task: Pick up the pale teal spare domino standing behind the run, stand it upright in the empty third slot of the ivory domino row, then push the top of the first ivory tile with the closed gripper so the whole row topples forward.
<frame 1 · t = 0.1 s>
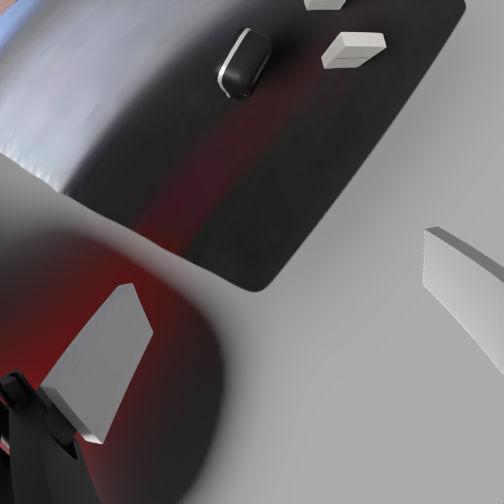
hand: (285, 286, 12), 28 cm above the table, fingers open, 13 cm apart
domino 2: (322, 4, 27), on the table
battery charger: (247, 80, 33), on the table
end domino: (339, 61, 31), on the table
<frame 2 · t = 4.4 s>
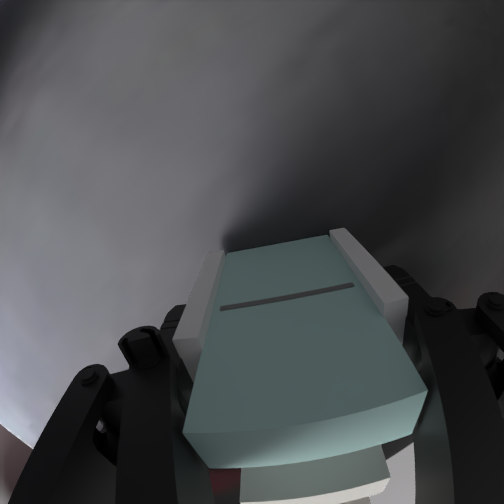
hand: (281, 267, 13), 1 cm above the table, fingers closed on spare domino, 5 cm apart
domino 1: (293, 338, 16), on the table
spare domino: (280, 260, 14), on the table, touching gripper
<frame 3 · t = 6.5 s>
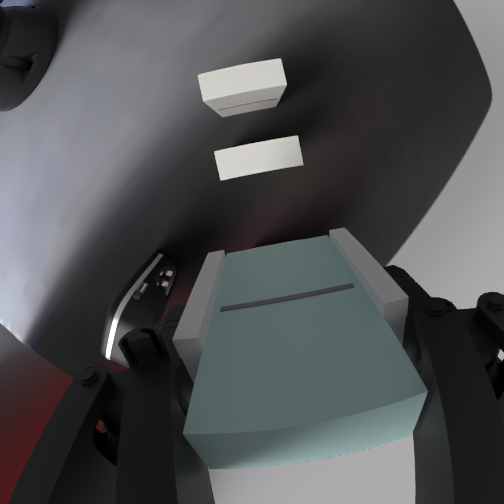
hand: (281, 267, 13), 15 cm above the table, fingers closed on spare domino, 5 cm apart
domino 2: (258, 153, 25), on the table
domino 1: (247, 102, 24), on the table
spare domino: (280, 261, 14), point 14 cm above the table, touching gripper
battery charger: (162, 281, 31), on the table
when the fingers open (1 cm above the table, at t = 9.2 s): spare domino stays where it is, on the table.
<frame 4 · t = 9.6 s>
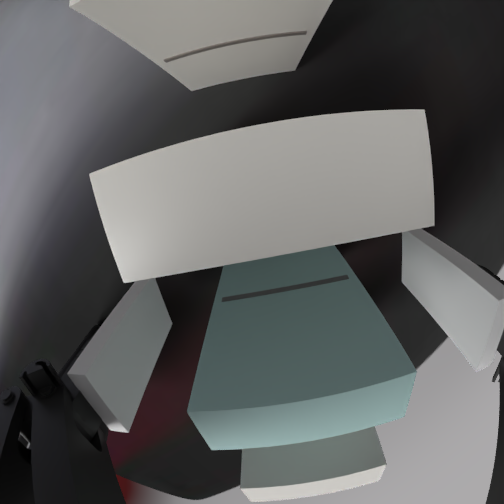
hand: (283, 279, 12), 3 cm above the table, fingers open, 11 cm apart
domino 2: (260, 159, 13), on the table
domino 1: (239, 62, 11), on the table
spare domino: (279, 256, 15), on the table
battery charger: (114, 360, 18), on the table
end domino: (292, 332, 17), on the table
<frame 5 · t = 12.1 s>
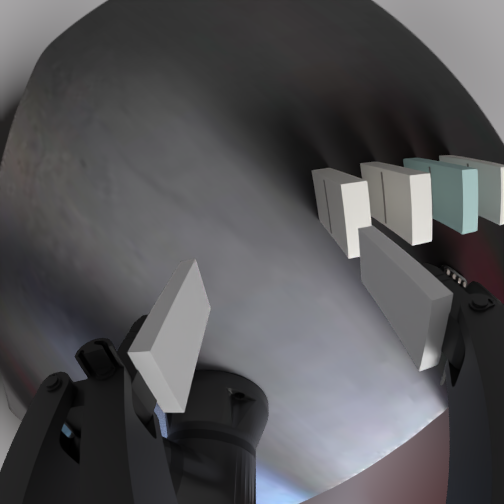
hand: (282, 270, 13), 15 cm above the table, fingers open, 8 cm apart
domino 2: (371, 186, 26), on the table
domino 1: (324, 194, 27), on the table
spare domino: (412, 181, 26), on the table
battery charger: (448, 277, 30), on the table
end domino: (446, 177, 25), on the table
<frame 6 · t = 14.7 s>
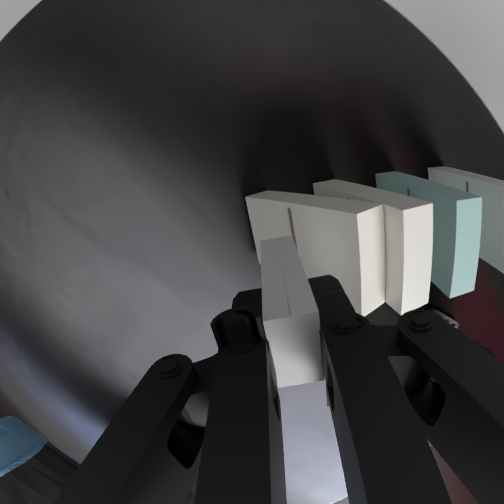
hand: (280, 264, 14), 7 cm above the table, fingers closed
domino 2: (328, 214, 20), on the table, tilted 11°
domino 1: (263, 227, 20), on the table, tilted 29°
spare domino: (388, 204, 20), on the table
end domino: (437, 196, 20), on the table
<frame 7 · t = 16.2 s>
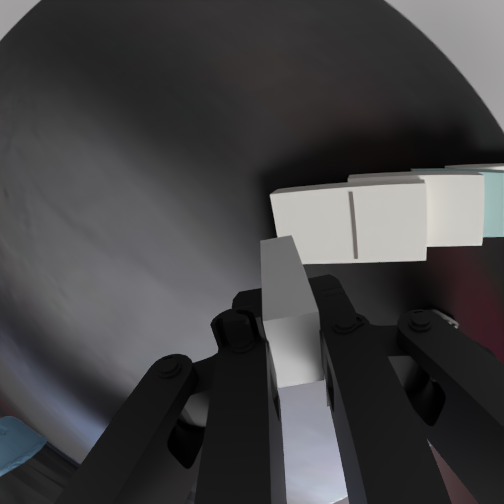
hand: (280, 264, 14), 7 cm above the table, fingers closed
domino 2: (352, 211, 19), point 1 cm above the table, tilted 67°, touching domino 1, spare domino
domino 1: (280, 226, 20), point 1 cm above the table, tilted 69°, touching domino 2
spare domino: (414, 203, 19), point 1 cm above the table, tilted 67°, touching domino 2, end domino
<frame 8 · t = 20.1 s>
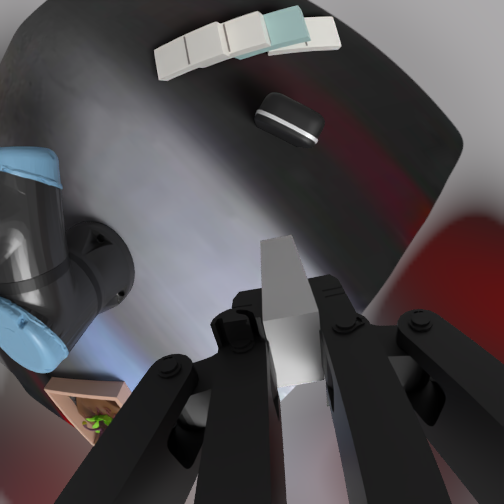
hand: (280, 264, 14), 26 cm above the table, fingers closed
domino 2: (196, 52, 31), point 1 cm above the table, tilted 67°, touching domino 1, spare domino
domino 1: (160, 65, 31), point 1 cm above the table, tilted 69°, touching domino 2
spare domino: (233, 43, 30), point 1 cm above the table, tilted 67°, touching domino 2, end domino
planter corral: (108, 412, 59), on the table
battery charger: (283, 124, 36), on the table
end domino: (264, 38, 30), point 1 cm above the table, tilted 89°, touching spare domino
plant: (110, 412, 60), resting in planter corral
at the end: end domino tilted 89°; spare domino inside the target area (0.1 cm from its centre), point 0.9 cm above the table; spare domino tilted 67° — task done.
